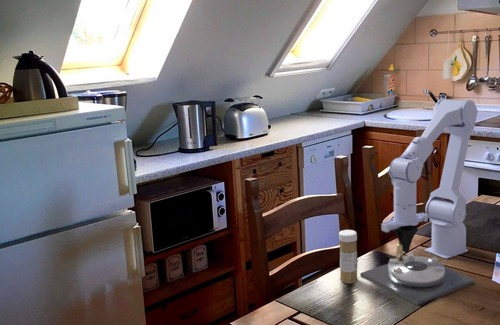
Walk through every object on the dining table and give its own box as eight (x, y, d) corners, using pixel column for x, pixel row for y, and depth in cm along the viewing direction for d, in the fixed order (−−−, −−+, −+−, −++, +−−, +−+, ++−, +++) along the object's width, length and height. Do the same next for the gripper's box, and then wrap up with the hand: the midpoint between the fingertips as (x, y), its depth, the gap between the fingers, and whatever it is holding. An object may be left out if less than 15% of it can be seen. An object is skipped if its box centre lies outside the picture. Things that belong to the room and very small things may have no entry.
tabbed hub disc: (376, 272, 143) (376, 248, 142) (416, 260, 150) (416, 237, 148) (415, 292, 131) (415, 266, 130) (456, 278, 137) (457, 253, 136)
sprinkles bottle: (346, 275, 146) (345, 227, 143) (361, 279, 143) (360, 231, 140) (336, 281, 142) (335, 233, 140) (351, 285, 139) (350, 236, 136)
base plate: (414, 258, 154) (414, 254, 154) (474, 282, 137) (474, 278, 137) (360, 276, 144) (360, 272, 144) (417, 305, 127) (417, 301, 127)
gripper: (394, 212, 136) (394, 262, 139) (436, 201, 142) (435, 249, 145) (375, 205, 142) (376, 254, 145) (416, 195, 148) (416, 242, 151)
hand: (404, 251), depth 146 cm, fingers closed
